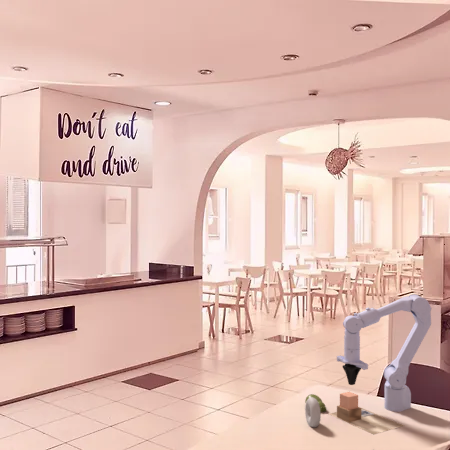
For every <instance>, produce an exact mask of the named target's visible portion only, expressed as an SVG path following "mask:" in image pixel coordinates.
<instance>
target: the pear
mask: <svg viewBox="0 0 450 450" xmlns="http://www.w3.org/2000/svg"><path fill="white" fill-rule="evenodd" d="M311 397H313V398H315V399H316V400H317V401H318V403H319V406H320V413H323V412H327V407H326V405H325V403H324V402H323V400H322V399H321V398H320V397H319V396H318V395H316V394H315V393H314V394H313V393H312V394H309V395H307V396H306V397H305V399H304V400H305V401H304V402H305V404H306V401H307V400H308V399H309V398H311Z"/></svg>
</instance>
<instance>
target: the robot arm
mask: <svg viewBox="0 0 450 450" xmlns="http://www.w3.org/2000/svg"><path fill="white" fill-rule="evenodd" d="M401 311H403V312H408V313H411V314H412V316H413V317H412V318H413V319H414V321H415V322H414V324H413V326H412V328H411V329H410V332H409V334H408V335H407V337H406V339H405V341H404V343H403V344H402V346H401V348H400V350H399V351H398V354H397V356H396V358H394V359H393V360H392V361H391V362H390V364H389V365H388V366H386V367H385V368H384V371H383V377H384V379H385V380H386V381H385V383H384V409H385V410H387V411H389V412H390V411H391V412H404V411H406V410H408V409H409V410H410V409H411V408H412V407H411V406H412V392H411V389H410V388H409V386H407V376H408V374H409V367H410V365H411V363H412V361H413V359H414V357H415V355H416V353H417V352H418V349H419V348H420V346H421V344H422V343H423V341H424V339H425V337H426V335H427V333H428V331H429V330H430V328H431V326H432V315H431V314H432V307H431V305H430V303H429V301H428V300H427V298H425V297H422V296H420V295H419V294H413V293H412V294H410V295H405V296H403V297H401V298H398V299H397V300H394V301H392V302H390V303H388V304H385V305H384V306H381V307H378V308H374V307H371V308H370V307H366V308H365V310H363V311H361V312H354V313H353V315H352V314H351V315H347V316H345V318H344V320H343V322H342V325H343V327H344V337H343V338H344V340H343V343H344V344H343V348H344V349H343V354H344V355H337V356H336V362H341V363H342V364H343V365H342V369H343V370H344V372H345V376H346V378H347V379H346V380H347V383H348V385H350V386H353V385H356V382H357V378H358V375H359V373H360V372H361V370H364V371H365V370H368V369H369V364H368V363H366V362H364V361H363V360H361V357H360V356H361V344H360V343H361V336H360V331H361V330H362V329H364V328H367V327H369V326H372V325H375V324H377V323H379V322H380V319H381V318H383V317H386V316H389V315H392V314H395V313H397V312H401Z"/></svg>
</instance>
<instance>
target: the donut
mask: <svg viewBox="0 0 450 450" xmlns="http://www.w3.org/2000/svg"><path fill="white" fill-rule="evenodd" d="M304 411H305V413H304V414H305V419H306V423H307V425H308V427H311V428H318V426H319V425H320V424H321V423H320V422H321V413H322V412H320V406H319V403H318V401H317V400H316V399H315V398H313V397H311V398H309V399H308V400H307V401H306V403H305V406H304Z"/></svg>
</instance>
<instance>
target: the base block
mask: <svg viewBox="0 0 450 450" xmlns="http://www.w3.org/2000/svg"><path fill="white" fill-rule="evenodd" d="M361 408H362V407H360V406H358V408H355V409H351V410H347V409H345V408H343V407H340V404H339V405H337V406H336V412H337V417H338V418H340V419H342V420H344V421H343V422H345V421H347V422H353V421H357V420H360V419H361ZM338 418H337V419H338ZM340 419H339V420H340ZM342 420H341V421H342ZM347 422H346V423H347Z"/></svg>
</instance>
